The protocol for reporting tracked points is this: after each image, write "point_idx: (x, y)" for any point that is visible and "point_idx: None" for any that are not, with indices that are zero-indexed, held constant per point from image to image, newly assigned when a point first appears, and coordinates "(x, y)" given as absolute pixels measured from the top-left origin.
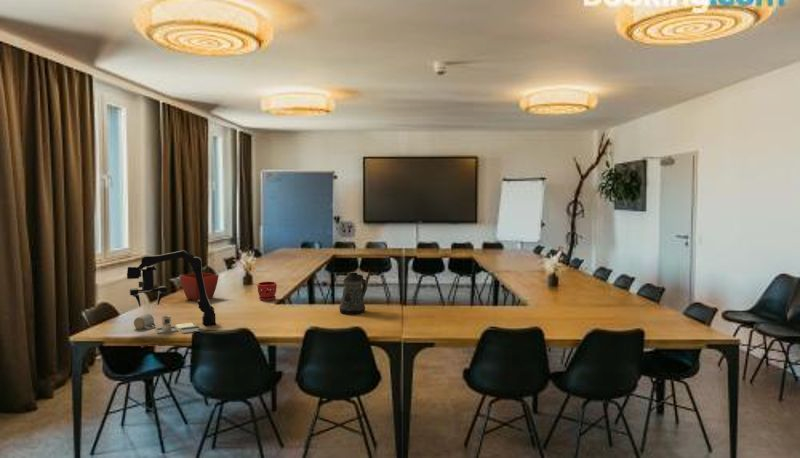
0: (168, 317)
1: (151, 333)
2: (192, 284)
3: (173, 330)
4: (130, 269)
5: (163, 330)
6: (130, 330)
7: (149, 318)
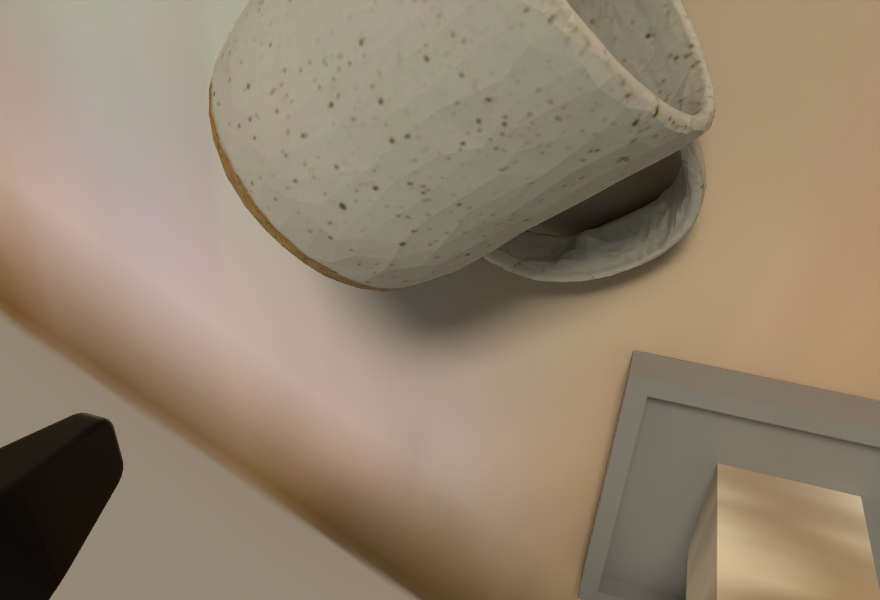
0: None
1: (526, 454)
2: None
3: None
4: None
5: (688, 567)
6: None
7: (559, 209)
